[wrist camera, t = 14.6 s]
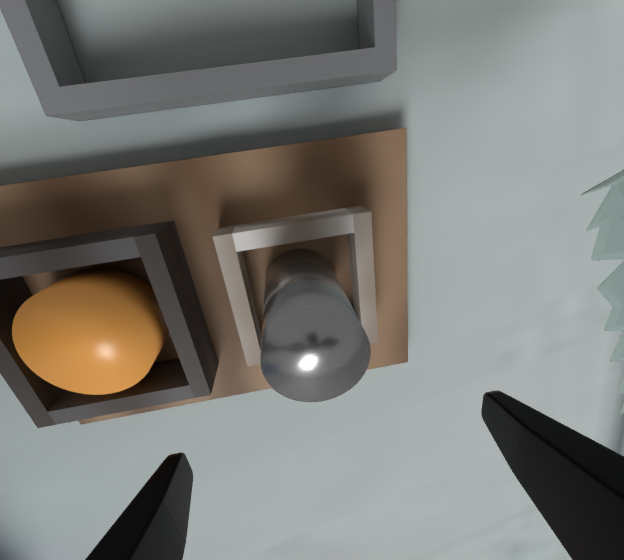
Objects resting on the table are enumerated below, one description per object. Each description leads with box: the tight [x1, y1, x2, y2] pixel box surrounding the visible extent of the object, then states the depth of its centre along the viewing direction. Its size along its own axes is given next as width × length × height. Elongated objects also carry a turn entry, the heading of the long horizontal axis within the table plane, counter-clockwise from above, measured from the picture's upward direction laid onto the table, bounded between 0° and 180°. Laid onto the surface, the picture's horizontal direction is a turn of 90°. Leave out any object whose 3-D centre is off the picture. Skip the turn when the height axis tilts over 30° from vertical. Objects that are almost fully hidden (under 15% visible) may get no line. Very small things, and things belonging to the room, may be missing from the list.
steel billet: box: [260, 248, 371, 402], centre depth 16 cm, size 4×4×8 cm
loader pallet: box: [0, 128, 408, 428], centre depth 18 cm, size 24×16×4 cm, turn 97°
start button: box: [12, 268, 169, 395], centre depth 17 cm, size 7×7×2 cm
